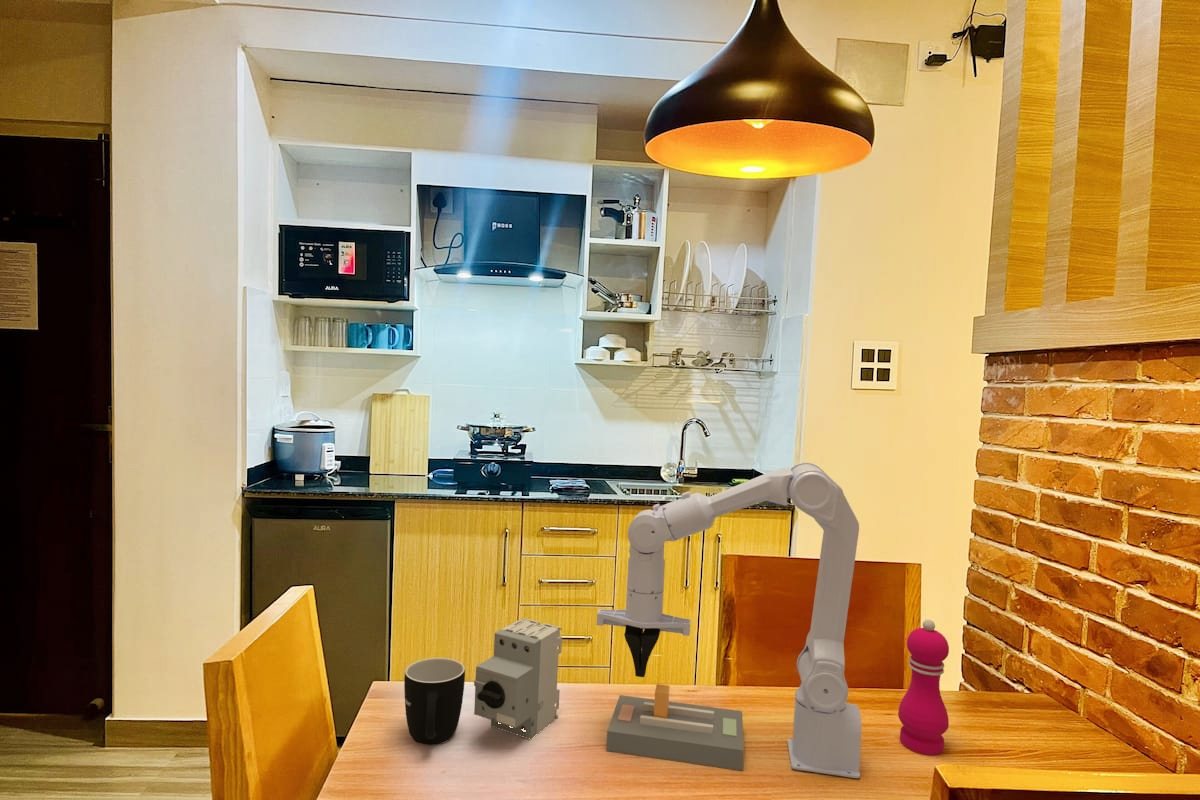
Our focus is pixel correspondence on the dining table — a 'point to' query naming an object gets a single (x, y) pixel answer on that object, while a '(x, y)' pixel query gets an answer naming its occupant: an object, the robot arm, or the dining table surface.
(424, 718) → the mug
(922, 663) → the pepper mill
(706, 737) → the slider control box
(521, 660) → the circuit breaker
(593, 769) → the dining table surface
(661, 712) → the breaker lever
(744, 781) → the dining table surface
